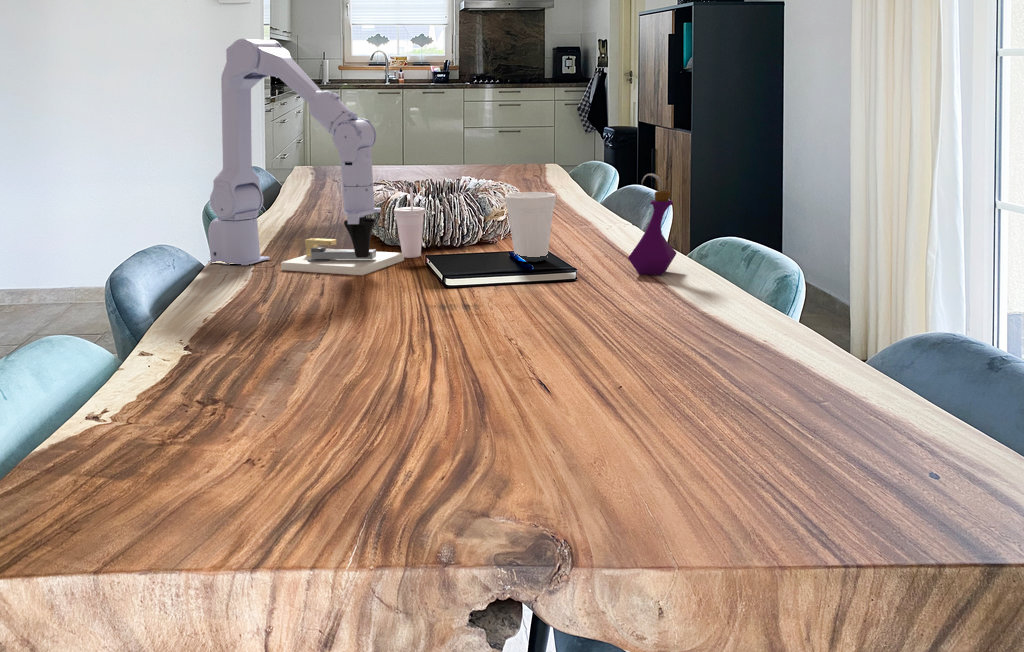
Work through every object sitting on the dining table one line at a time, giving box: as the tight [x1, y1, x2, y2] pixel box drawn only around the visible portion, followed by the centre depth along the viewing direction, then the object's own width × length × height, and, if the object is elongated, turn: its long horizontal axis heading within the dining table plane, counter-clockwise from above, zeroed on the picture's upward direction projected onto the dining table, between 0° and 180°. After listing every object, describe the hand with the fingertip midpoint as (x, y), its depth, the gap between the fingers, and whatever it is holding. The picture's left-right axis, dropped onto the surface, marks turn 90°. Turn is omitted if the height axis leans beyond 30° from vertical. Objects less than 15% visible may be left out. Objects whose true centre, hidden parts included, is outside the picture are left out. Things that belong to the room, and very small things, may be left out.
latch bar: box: [311, 246, 377, 259], centre depth 194 cm, size 12×3×2 cm, turn 83°
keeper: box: [304, 237, 338, 256], centre depth 199 cm, size 6×2×3 cm, turn 67°
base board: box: [280, 251, 405, 276], centre depth 198 cm, size 18×16×2 cm
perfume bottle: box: [627, 173, 677, 276], centre depth 182 cm, size 8×8×18 cm
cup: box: [504, 191, 557, 257], centre depth 196 cm, size 10×10×13 cm
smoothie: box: [393, 186, 426, 259], centre depth 205 cm, size 6×6×14 cm
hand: (362, 257), depth 192 cm, fingers closed, pressing on latch bar
